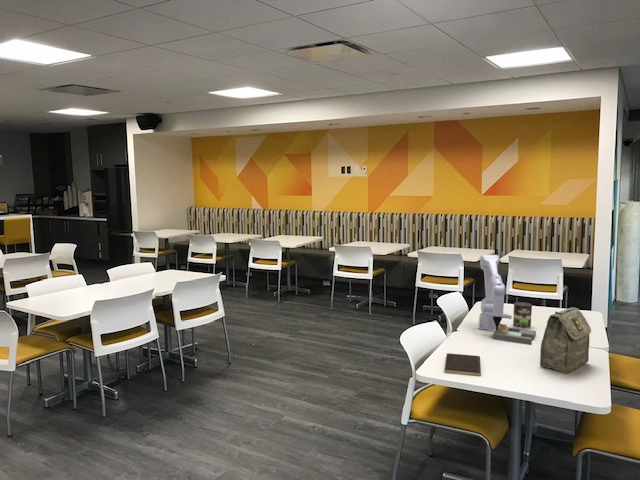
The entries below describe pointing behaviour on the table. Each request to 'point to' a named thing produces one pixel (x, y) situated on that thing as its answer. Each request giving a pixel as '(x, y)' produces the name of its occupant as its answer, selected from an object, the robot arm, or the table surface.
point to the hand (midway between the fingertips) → (497, 329)
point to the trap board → (516, 335)
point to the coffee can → (522, 315)
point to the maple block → (502, 328)
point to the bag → (565, 341)
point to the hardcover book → (463, 364)
